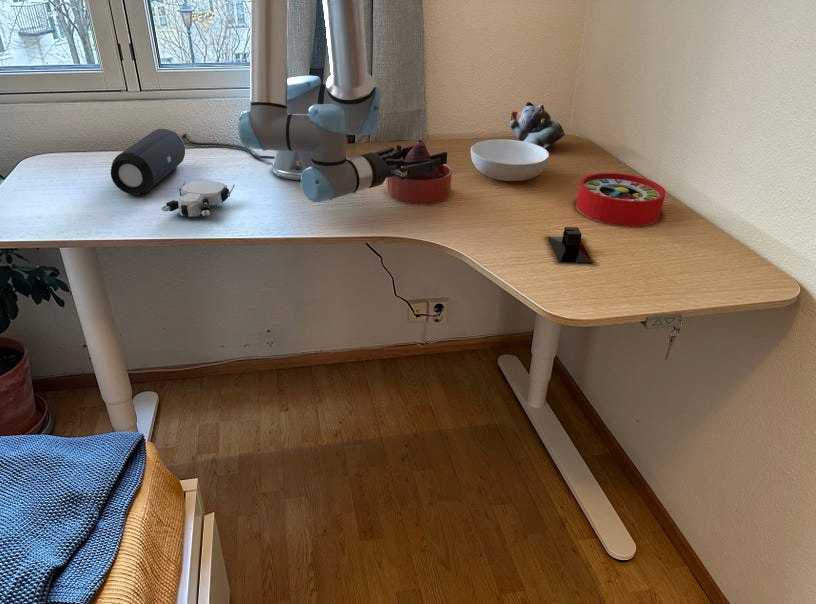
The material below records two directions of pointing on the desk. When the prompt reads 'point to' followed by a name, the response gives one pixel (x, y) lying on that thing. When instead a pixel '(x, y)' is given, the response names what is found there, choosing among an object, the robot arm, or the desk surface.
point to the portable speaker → (147, 161)
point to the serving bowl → (509, 159)
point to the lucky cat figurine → (535, 126)
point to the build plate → (570, 247)
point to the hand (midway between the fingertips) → (433, 153)
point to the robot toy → (199, 197)
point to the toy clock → (620, 199)
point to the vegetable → (421, 153)
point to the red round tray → (421, 187)
